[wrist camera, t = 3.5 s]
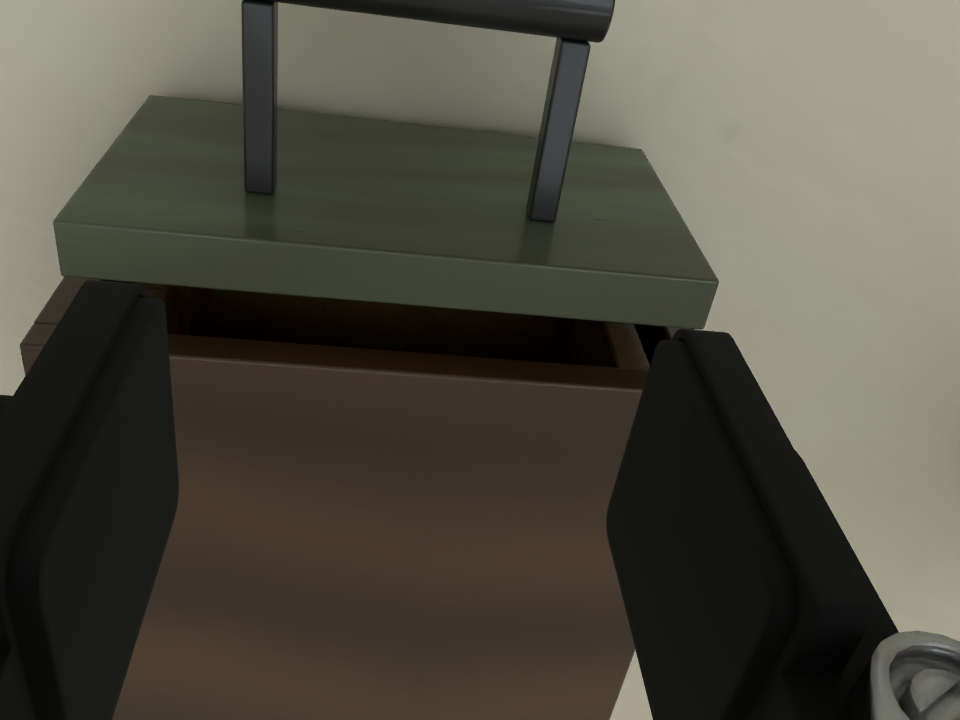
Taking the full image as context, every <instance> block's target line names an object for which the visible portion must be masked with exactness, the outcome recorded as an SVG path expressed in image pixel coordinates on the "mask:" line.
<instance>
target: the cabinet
mask: <svg viewBox="0 0 960 720" xmlns="http://www.w3.org/2000/svg"><path fill="white" fill-rule="evenodd" d="M86 280H97V281H109V282H122V283H134V284H135V282H125V281H113V280H101V279H89V278H77V277H64V278H63V280H62V281H61V283H60V284H59V286H58V287H57V289H56V290H55V292H54V293H53V295H52V296H51V298H50V299H49V301H48V302H47V304H46V305H45V307H44V308H43V310H42V311H41V313H40V314H39V316H38V317H37V319H36V320H35V322H34V325H33V326H32V327H31V329H30V330H29V332H28V333H27V335H26V336H25V338H24V339H23V341H22V342H21V344H20V349H21V355H22V360H23V365H24V370H25V376H26V375H27V373H28V371H29V370H30V368H31V367H32V365H33V363H34V362H35V360H36V358H37V357H38V355H39V354H40V352H41V350H42V349H43V347H44V346H45V344H46V342H47V341H48V339H49V338H50V336H51V334H52V333H53V331H54V329H55V328H56V326H57V325H58V323H59V321H60V320H61V318H62V317H63V315H64V313H65V312H66V310H67V309H68V307H69V305H70V304H71V302H72V300H73V299H74V297H75V296H76V294H77V292H78V291H79V289H80V288H81V286H82V285H83V283H84V282H85V281H86ZM634 326H635V328H636V331H637V333H638V336H639V338H640V341H641V344H642V346H643V349H644V351H645V354H646V356H647V359H648V361H649V364H650V365H651V361H652V358H653V355H654V351H655V349H656V346H657V344H658V343H659V341H661V340H672V337H673V336H674V334H675V333H676V331H678V330H679V329H690V328H678V327H666V326H654V325H642V324H634ZM690 330H695V329H690ZM168 347H169V360H170V373H171V386H172V399H173V412H174V425H175V438H176V451H177V464H178V477H179V497H178V505H177V510H176V515H175V518H174V522H173V525H172V528H171V531H170V534H169V538H168V541H167V544H166V547H165V551H164V554H163V557H162V560H161V563H160V567H159V570H158V573H157V576H156V580H155V583H154V586H153V589H152V593H151V596H150V599H149V602H148V605H147V609H146V612H145V615H144V618H143V622H142V625H141V628H140V631H139V634H138V638H137V641H136V644H135V647H134V651H133V654H132V657H131V660H130V664H129V667H128V670H127V673H126V676H125V680H124V683H123V686H122V689H121V693H120V696H119V699H118V702H117V705H116V709H115V712H114V715H113V718H112V720H609V719H610V717H611V714H612V711H613V709H614V706H615V703H616V700H617V698H618V695H619V692H620V690H621V687H622V684H623V681H624V679H625V676H626V673H627V671H628V668H629V665H630V662H631V660H632V657H633V654H634V652H635V645H634V641H633V637H632V633H631V629H630V625H629V621H628V617H627V613H626V609H625V605H624V601H623V597H622V593H621V589H620V585H619V581H618V577H617V573H616V569H615V565H614V561H613V557H612V553H611V550H610V546H609V542H608V537H607V529H606V518H607V510H608V505H609V502H610V499H611V495H612V492H613V488H614V485H615V482H616V478H617V475H618V472H619V468H620V465H621V462H622V458H623V455H624V452H625V448H626V445H627V442H628V438H629V435H630V432H631V428H632V425H633V421H634V418H635V415H636V411H637V408H638V405H639V401H640V398H641V395H642V391H643V388H644V385H645V381H646V378H647V375H648V371H649V370H638V369H625V368H612V367H599V366H586V365H572V364H559V363H546V362H533V361H520V360H507V359H494V358H481V357H468V356H454V355H441V354H428V353H415V352H402V351H389V350H376V349H363V348H350V347H336V346H323V345H310V344H297V343H284V342H271V341H258V340H245V339H231V338H218V337H205V336H192V335H179V334H168Z"/></svg>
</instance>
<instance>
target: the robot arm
mask: <svg viewBox="0 0 960 720" xmlns="http://www.w3.org/2000/svg"><path fill="white" fill-rule="evenodd" d="M178 497H179V477H178V464H177V451H176V438H175V425H174V412H173V399H172V386H171V373H170V360H169V347H168V334H167V321H166V310H165V305H164V301H163V300H162V299H154V298H148V295H147V292H146V289H145V287H144V286H143V285H142V284H134V283H122V282H109V281H97V280H86V281H85V282H84V283H83V285H82V286H81V288H80V289H79V291H78V292H77V294H76V296H75V297H74V299H73V300H72V302H71V304H70V305H69V307H68V309H67V310H66V312H65V313H64V315H63V317H62V318H61V320H60V321H59V323H58V325H57V326H56V328H55V329H54V331H53V333H52V334H51V336H50V338H49V339H48V341H47V342H46V344H45V346H44V347H43V349H42V350H41V352H40V354H39V355H38V357H37V358H36V360H35V362H34V363H33V365H32V367H31V368H30V370H29V371H28V373H27V375H26V376H25V378H24V379H23V381H22V383H21V384H20V386H19V387H18V389H17V391H16V392H15V394H14V396H7V395H0V720H112V718H113V715H114V712H115V709H116V705H117V702H118V699H119V696H120V693H121V689H122V686H123V683H124V680H125V676H126V673H127V670H128V667H129V664H130V660H131V657H132V654H133V651H134V647H135V644H136V641H137V638H138V634H139V631H140V628H141V625H142V622H143V618H144V615H145V612H146V609H147V605H148V602H149V599H150V596H151V593H152V589H153V586H154V583H155V580H156V576H157V573H158V570H159V567H160V563H161V560H162V557H163V554H164V551H165V547H166V544H167V541H168V538H169V534H170V531H171V528H172V525H173V522H174V518H175V515H176V510H177V505H178ZM606 529H607V537H608V542H609V546H610V550H611V553H612V557H613V561H614V565H615V569H616V573H617V577H618V581H619V585H620V589H621V593H622V597H623V601H624V605H625V609H626V613H627V617H628V621H629V625H630V629H631V633H632V637H633V641H634V645H635V649H636V653H637V657H638V661H639V665H640V669H641V673H642V677H643V681H644V685H645V689H646V693H647V697H648V701H649V705H650V709H651V713H652V717H653V720H960V642H959V641H957V640H954V639H952V638H949V637H946V636H944V635H940V634H934V633H928V632H922V631H910V632H901V633H899V632H898V630H897V628H896V626H895V625H894V623H893V621H892V619H891V617H890V616H889V614H888V612H887V610H886V609H885V607H884V605H883V603H882V601H881V600H880V598H879V596H878V594H877V592H876V591H875V589H874V587H873V585H872V583H871V582H870V580H869V578H868V576H867V574H866V573H865V571H864V569H863V567H862V565H861V564H860V562H859V560H858V558H857V556H856V555H855V553H854V551H853V549H852V547H851V546H850V544H849V542H848V540H847V538H846V537H845V535H844V533H843V531H842V529H841V528H840V526H839V524H838V522H837V520H836V519H835V517H834V515H833V513H832V511H831V510H830V508H829V506H828V504H827V502H826V501H825V499H824V497H823V495H822V493H821V492H820V490H819V488H818V486H817V484H816V483H815V481H814V479H813V477H812V475H811V474H810V472H809V470H808V468H807V466H806V465H805V463H804V461H803V460H802V458H801V457H800V456H799V454H798V453H797V452H796V451H795V450H794V448H793V446H792V445H791V443H790V441H789V439H788V437H787V436H786V434H785V432H784V430H783V428H782V427H781V425H780V423H779V421H778V419H777V417H776V416H775V414H774V412H773V410H772V408H771V407H770V405H769V403H768V401H767V399H766V398H765V396H764V394H763V392H762V390H761V388H760V387H759V385H758V383H757V381H756V379H755V378H754V376H753V374H752V372H751V370H750V369H749V367H748V365H747V363H746V361H745V360H744V358H743V356H742V354H741V352H740V350H739V349H738V347H737V345H736V343H735V341H734V340H733V338H732V337H731V336H730V334H729V333H725V332H714V331H702V330H690V329H679V330H678V331H676V333H675V334H674V336H673V337H672V340H661V341H659V343H658V344H657V346H656V349H655V351H654V355H653V358H652V361H651V365H650V368H649V371H648V375H647V378H646V381H645V385H644V388H643V391H642V395H641V398H640V401H639V405H638V408H637V411H636V415H635V418H634V421H633V425H632V428H631V432H630V435H629V438H628V442H627V445H626V448H625V452H624V455H623V458H622V462H621V465H620V468H619V472H618V475H617V478H616V482H615V485H614V488H613V492H612V495H611V499H610V502H609V505H608V510H607V518H606Z"/></svg>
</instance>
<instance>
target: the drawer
mask: <svg viewBox="0 0 960 720" xmlns="http://www.w3.org/2000/svg"><path fill="white" fill-rule="evenodd" d="M278 2H279V3H287V4H295V5H303V6H310V7H318V8H326V9H334V10H342V11H350V12H358V13H366V14H374V15H382V16H390V17H398V18H406V19H414V20H422V21H430V22H438V23H446V24H454V25H461V26H469V27H477V28H485V29H493V30H501V31H509V32H517V33H525V34H533V35H541V36H549V37H557V40H556V45H555V51H554V56H553V62H552V67H551V73H550V78H549V84H548V90H547V95H546V101H545V106H544V112H543V117H542V123H541V129H540V134H539V138H535V137H526V136H517V135H508V134H498V133H489V132H480V131H471V130H462V129H453V128H444V127H435V126H426V125H417V124H408V123H399V122H390V121H381V120H371V119H362V118H353V117H344V116H335V115H326V114H317V113H308V112H299V111H290V110H281V109H277V67H278ZM241 6H242V68H243V105H235V104H226V103H217V102H208V101H199V100H190V99H181V98H172V97H163V96H154V95H151V96H149V97H148V98H147V100H146V101H145V102H144V104H143V105H142V106H141V107H140V109H139V110H138V111H137V113H136V114H135V115H134V117H133V118H132V119H131V120H130V122H129V123H128V124H127V126H126V127H125V128H124V130H123V131H122V132H121V134H120V135H119V136H118V137H117V139H116V140H115V141H114V143H113V144H112V145H111V147H110V148H109V149H108V150H107V152H106V153H105V154H104V156H103V157H102V158H101V160H100V161H99V162H98V163H97V165H96V166H95V167H94V169H93V170H92V171H91V173H90V174H89V175H88V176H87V178H86V179H85V180H84V182H83V183H82V184H81V186H80V187H79V188H78V189H77V191H76V192H75V193H74V195H73V196H72V197H71V199H70V200H69V201H68V202H67V204H66V205H65V206H64V208H63V209H62V210H61V212H60V213H59V214H58V215H57V217H56V218H55V219H54V221H53V224H54V231H55V238H56V244H57V251H58V257H59V264H60V271H61V275H62V276H65V277H77V278H89V279H101V280H113V281H125V282H135V284H142V285H143V286H144V287H145V289H146V292H147V295H148V298H154V299H162V300H163V301H164V305H165V310H166V321H167V334H179V335H192V336H205V337H218V338H231V339H245V340H258V341H271V342H284V343H297V344H310V345H323V346H336V347H350V348H363V349H376V350H389V351H402V352H415V353H428V354H441V355H454V356H468V357H481V358H494V359H507V360H520V361H533V362H546V363H559V364H572V365H586V366H599V367H612V368H625V369H638V370H649V368H650V364H649V361H648V359H647V356H646V354H645V351H644V349H643V346H642V344H641V341H640V338H639V336H638V333H637V331H636V328H635V326H634V324H642V325H654V326H666V327H678V328H690V329H703V328H704V326H705V323H706V320H707V317H708V314H709V311H710V308H711V305H712V302H713V299H714V296H715V293H716V290H717V287H718V284H719V281H718V279H717V277H716V275H715V274H714V272H713V270H712V269H711V267H710V265H709V263H708V262H707V260H706V258H705V257H704V255H703V253H702V252H701V250H700V248H699V246H698V245H697V243H696V241H695V240H694V238H693V236H692V234H691V233H690V231H689V229H688V228H687V226H686V224H685V222H684V221H683V219H682V217H681V216H680V214H679V212H678V210H677V209H676V207H675V205H674V204H673V202H672V200H671V199H670V197H669V195H668V193H667V192H666V190H665V188H664V187H663V185H662V183H661V181H660V180H659V178H658V176H657V175H656V173H655V171H654V169H653V168H652V166H651V164H650V163H649V161H648V159H647V158H646V156H645V154H644V152H643V151H642V150H641V149H635V148H625V147H616V146H607V145H598V144H589V143H580V142H572V137H573V132H574V127H575V122H576V117H577V112H578V107H579V102H580V97H581V92H582V87H583V82H584V77H585V72H586V67H587V62H588V57H589V52H590V48H591V47H590V44H589V42H597V43H599V42H602V41H603V39H604V38H605V36H606V34H607V32H608V29H609V26H610V23H611V20H612V16H613V11H614V6H615V0H243V1H242V4H241ZM588 41H589V42H588Z"/></svg>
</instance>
